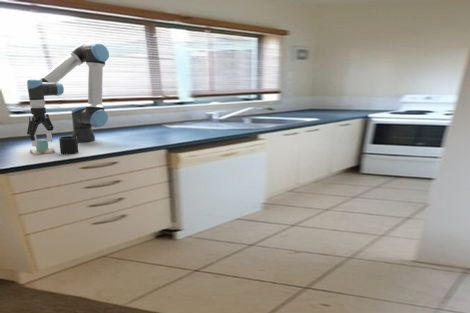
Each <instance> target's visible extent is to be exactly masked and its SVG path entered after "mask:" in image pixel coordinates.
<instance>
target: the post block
mask: <svg viewBox="0 0 470 313" xmlns="http://www.w3.org/2000/svg"><path fill="white" fill-rule="evenodd" d="M48 148H49V150H47V151H37V150H36V148H35V149H34V148H33V149H30V153H31V154H32V155H34V156H37V155H44V154H45V155H46V154H55V153H56V150H55V149H53V148H52V147H48Z"/></svg>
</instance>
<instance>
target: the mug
mask: <svg viewBox="0 0 470 313" xmlns="http://www.w3.org/2000/svg"><path fill="white" fill-rule="evenodd" d="M58 140H59V148H60V149H59V151H60V154H61V155H74V154H77V153H79V144H78V143H79V142H77V137H76V136H72V135H67V136H60V137H59V138H58Z"/></svg>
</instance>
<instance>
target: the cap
mask: <svg viewBox="0 0 470 313" xmlns="http://www.w3.org/2000/svg"><path fill="white" fill-rule="evenodd" d="M37 145H38V146H35V147H36V148H35V149H36V150H37V151H47V150H49V148H50V147H49V141H47V138H41V139H37Z"/></svg>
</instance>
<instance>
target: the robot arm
mask: <svg viewBox="0 0 470 313" xmlns="http://www.w3.org/2000/svg"><path fill="white" fill-rule="evenodd" d="M67 54H68V56H66V57H65V58H64V59H63V60H61V61H60V62H59V63H58V64H57V65H55V66H54V67H52V69H50V70H49V71H48V72H47V73H46V74H44V75H43V76H42V77H41V78H40V79H37V78H36V79H35V78H34V79H28V80H27V83H26V86H27V88H26V89H27V92H28V99H29V107H30V114H31V115H32V116H29V119H28V120H29V121H28V126H27V132H26V134H27V135H28V136H30V140H31V145H32V146H31V147H36V146H38V145H37V140H38V138H37V135H36V133H37V130H38V126H39V125H41V124H42V126H43V127H44V128H45V129H46V131H45V132H46V133H45V134H46V139H47V141H48V143H49V142H53V135H52V131H53V130H54V128H55V126H54V125H53V123H52V121H51V120H50V115H49V114H48V113H47V109H46V107H45V106H46V101H45V97H49V96H50V97H51V96H52V97H53V96H60V95H63V94H64V91H65V88H64V85H63V84H62V83H61V82H59V81H61V79H63V78H64V77H66V75H68V74H69V73H70V72H71V71H72V70H74V69H75V68H76V67H78V66H81V65H82V64H83V63H85V64H86V65H87V66H88V70H87V71H88V74H87V75H88V76H87V77H88V79H87V80H88V81H87V82H88V84H87V85H88V86H87V87H88V89H87V91H88V92H87V93H88V94H87V96H88V98H87V104H85V106H77V107H72V109H71V118H72V119H71V120H72V128H73V129H72V134H71V136H76V137H77V142H78V143H86V142H88V143H89V142H93V141H95V140H96V136H95V133H94V131H93V129H92V128H102V127H104V126H105V125H106V124H107V122H108V120H109V115H108V112H107V111H106V110H105V106H104V105H103V75H104V74H103V67H105V66H106V62H107V61H108V60H109V58H110V52H109V49H108V47H107V46H106V44H104V43H102V42H83V43H81V44H79V45H77V46H76V47H75V48H73V49H72V50H71V51H70V52H68V53H67Z"/></svg>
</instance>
